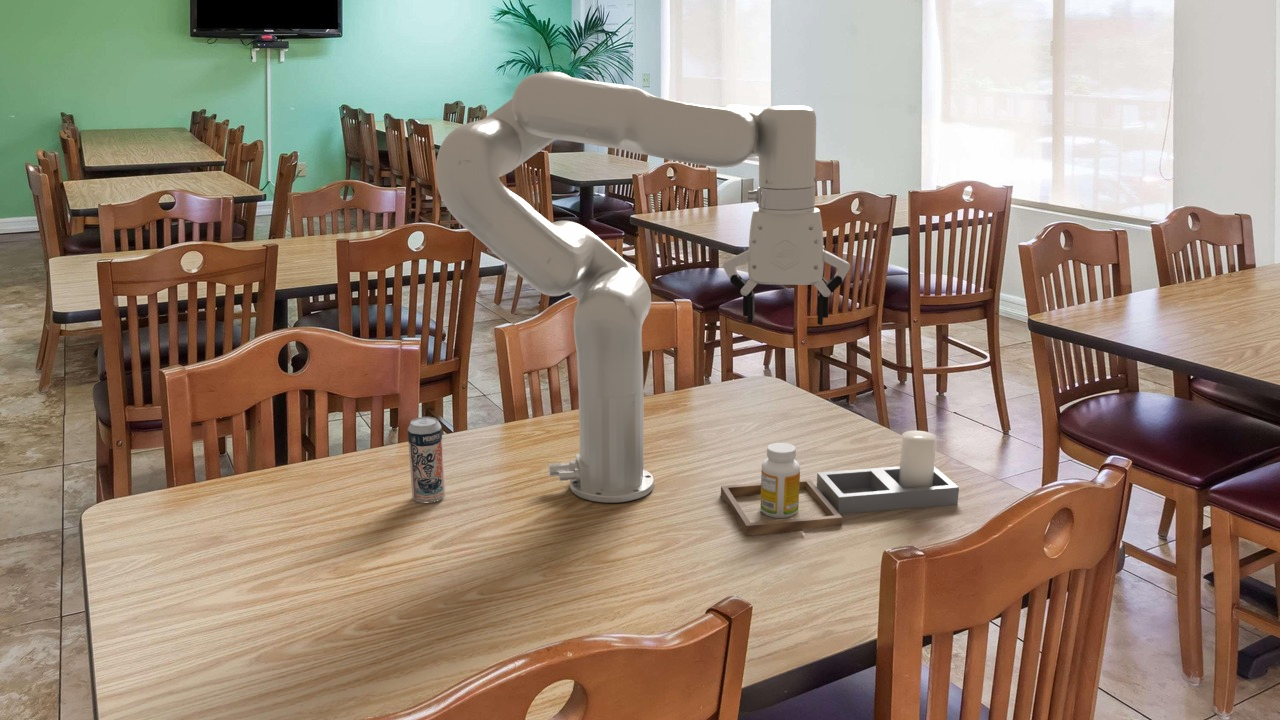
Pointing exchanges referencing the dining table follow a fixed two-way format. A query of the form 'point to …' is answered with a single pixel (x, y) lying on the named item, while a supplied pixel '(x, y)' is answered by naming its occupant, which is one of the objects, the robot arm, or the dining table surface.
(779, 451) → the supplement bottle
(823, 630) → the dining table surface
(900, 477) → the white pillar candle
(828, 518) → the tray
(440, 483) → the beer can
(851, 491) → the caddy
